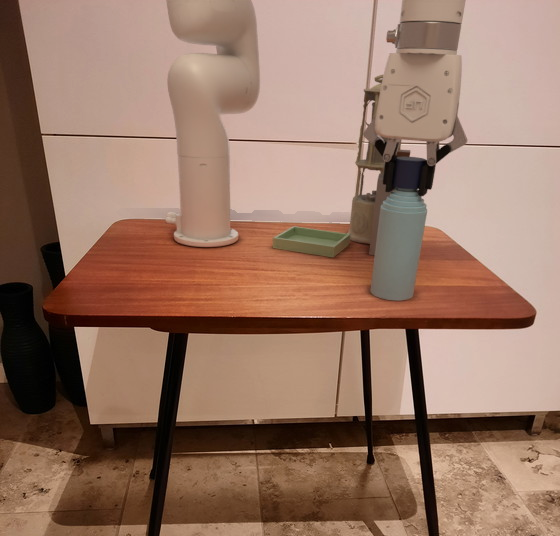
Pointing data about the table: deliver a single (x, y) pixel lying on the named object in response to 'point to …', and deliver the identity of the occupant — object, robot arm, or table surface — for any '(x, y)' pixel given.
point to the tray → (312, 241)
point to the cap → (408, 172)
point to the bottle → (398, 245)
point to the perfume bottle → (381, 203)
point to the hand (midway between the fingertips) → (406, 191)
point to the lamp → (374, 161)
